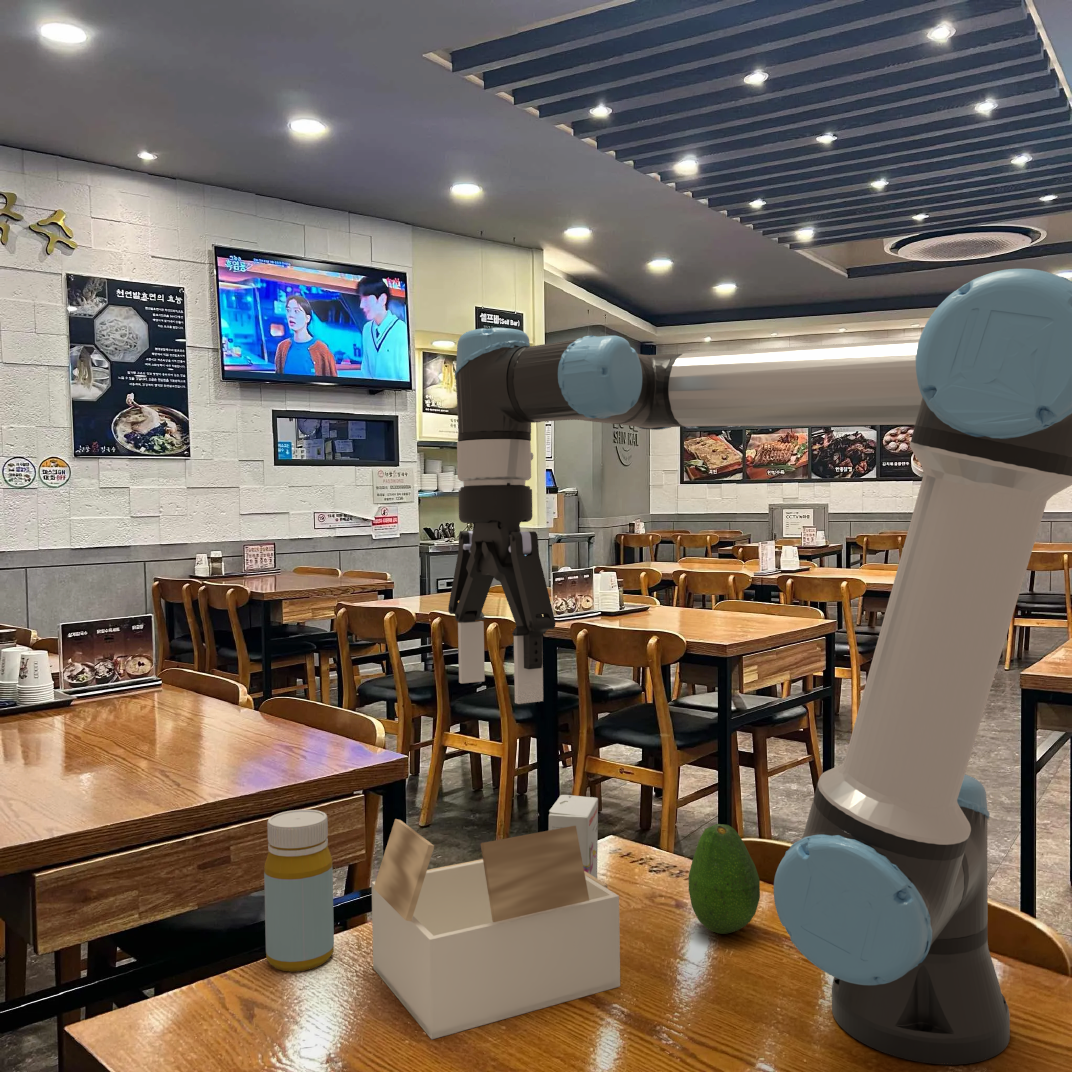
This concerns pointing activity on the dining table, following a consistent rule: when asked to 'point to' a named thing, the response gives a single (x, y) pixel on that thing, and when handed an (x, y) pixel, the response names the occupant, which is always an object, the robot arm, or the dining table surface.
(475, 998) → the carton
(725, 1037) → the dining table surface
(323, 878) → the bottle
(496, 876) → the near flap
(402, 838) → the left flap
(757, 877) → the fruit
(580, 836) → the ink box
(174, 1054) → the dining table surface
